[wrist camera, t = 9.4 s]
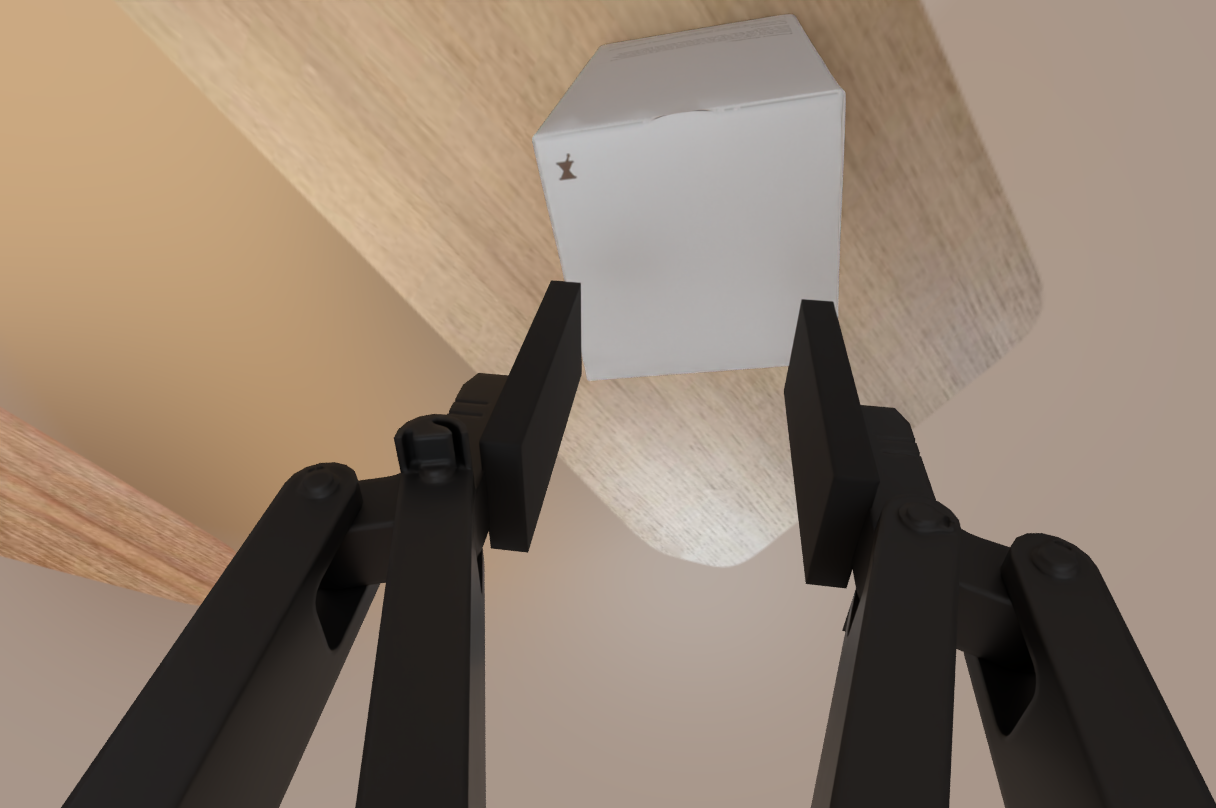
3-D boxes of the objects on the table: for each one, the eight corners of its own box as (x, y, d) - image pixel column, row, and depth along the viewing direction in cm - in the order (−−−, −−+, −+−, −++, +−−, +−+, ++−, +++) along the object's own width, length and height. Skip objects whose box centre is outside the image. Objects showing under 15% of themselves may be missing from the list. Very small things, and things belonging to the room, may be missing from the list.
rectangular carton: (625, 229, 38) (577, 389, 26) (595, 42, 33) (519, 131, 21) (804, 210, 36) (843, 372, 24) (801, 8, 31) (849, 84, 19)
